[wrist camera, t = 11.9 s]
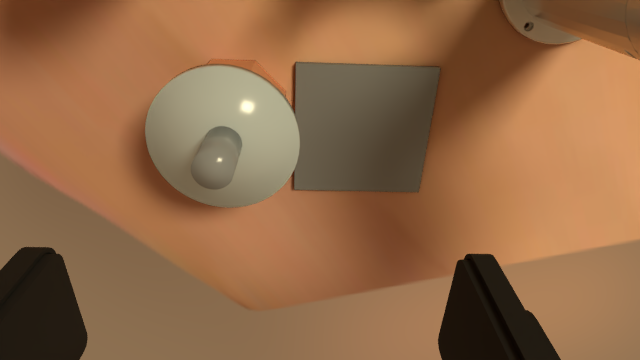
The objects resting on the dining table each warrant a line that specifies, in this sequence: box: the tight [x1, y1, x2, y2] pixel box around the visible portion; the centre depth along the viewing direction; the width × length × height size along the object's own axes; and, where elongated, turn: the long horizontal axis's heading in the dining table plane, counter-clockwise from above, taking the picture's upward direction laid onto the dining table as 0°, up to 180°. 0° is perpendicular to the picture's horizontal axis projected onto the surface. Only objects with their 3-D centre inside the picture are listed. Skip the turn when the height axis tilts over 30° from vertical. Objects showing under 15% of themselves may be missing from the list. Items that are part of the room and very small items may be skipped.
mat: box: [294, 62, 441, 192], centre depth 45 cm, size 14×14×1 cm
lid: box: [145, 64, 300, 208], centre depth 35 cm, size 13×13×6 cm
